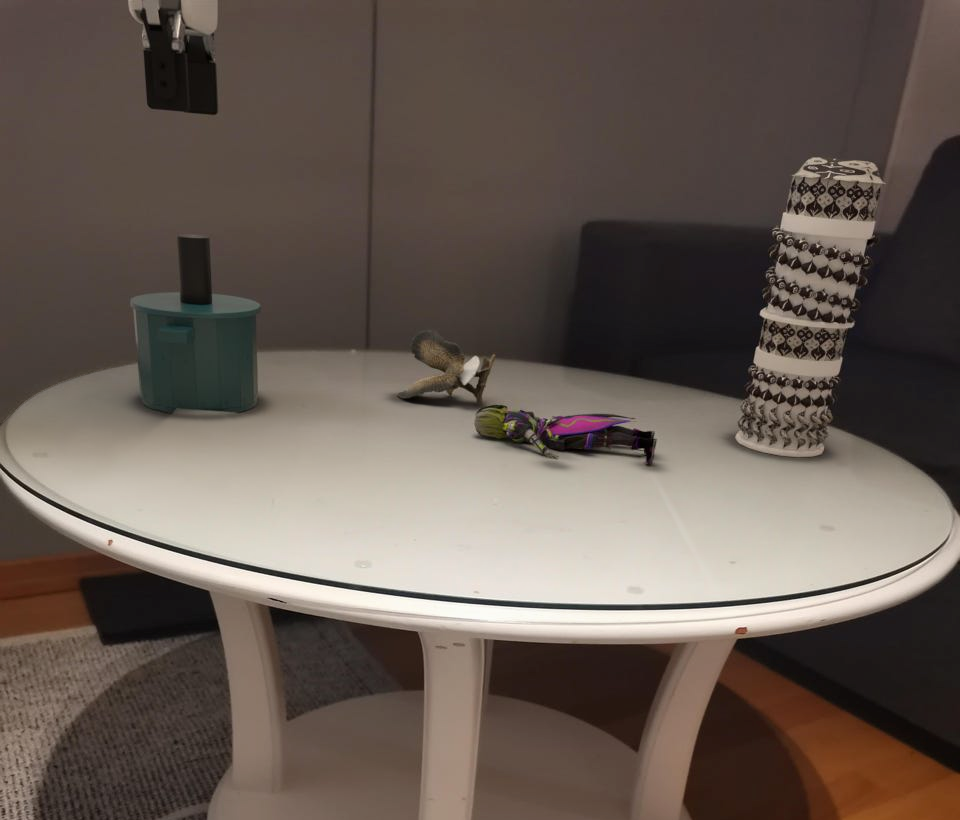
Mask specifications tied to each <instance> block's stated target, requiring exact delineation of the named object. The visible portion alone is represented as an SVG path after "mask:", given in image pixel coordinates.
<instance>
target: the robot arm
mask: <svg viewBox="0 0 960 820" xmlns="http://www.w3.org/2000/svg"><path fill="white" fill-rule="evenodd" d="M218 1H219V0H127V3H128V11H129V13H130V14H131V16H132V18H133V19H134V20H135V21H136V22H138V23H139V24H141V25H143V27H142V28H143V29H142V33H141V43H142V47H143V50H142V51H143V52H142V53H143V64H144V78H145V93H146V105H147V107H148V108H149V109H151V110H157V111H159V110H160V111H172V112H180V113H186V114H187V113H188V114H196V115H197V114H198V115H209V116H216V115H217V114H218V113H219V101H218V73H217V72H218V71H217V63H216V59H217V54H216V48H215V43H214V41H215V31H216V30H217V29H218V21H219V20H218V18H219V16H218V15H219V13H218V12H219V10H218V9H219V7H218V5H219V4H218V3H219V2H218ZM188 36H189V37H188Z"/></svg>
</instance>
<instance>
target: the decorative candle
mask: <svg viewBox="0 0 960 820" xmlns="http://www.w3.org/2000/svg"><path fill="white" fill-rule="evenodd" d="M789 176H791V177H792V178H791V182H790V188H789V192H788V198H787V201H786V202H787V205H786V208H785V212H783V213H782V216H781V222H780V224H779V225H776V226H774V228H773V229H771V231H770V236H771V237H772V238H773V239H774V240H775V241H776V242H775V243H774V244H772V246H771V247H769V248H768V250H767V253H768V255H769V257H770V258H771V259H772V260H773V262H776V263H774V265H773V266H771V267H769V268H768V270H767V271H765V272H764V279H766V281H767V283H768V285H767V286H765V288H763V289H762V291H761V295H762V298H763V300H764V301H766V302H767V306H766V307H764V308H762V309H761V310H760V312H759V316H760V317H762V318H763V324H762V327H761V331H760V337H759V342H758V346H756V347H755V352H754V357H753V362H752V363H753V365H750V366H749V367H748V369H747V373H748V374H749V376H750V377H751V378H752V379H751V380H750V381H748V382H747V383H746V384H745V385H744V389H745V390H746V393H748V394H749V395H748V397H747V398H745V399H744V400H743V401H742V402H741V404H740V411H741V413H742V415H741V416H740V417H739V418H738V420H737V426H738V428H739V429H740V430H739V431H738V432H737V433H736V434H735V437H734V438H735V440H736V442H737V443H738V444H740V445H742V446H743V447H745V448H748V449H750V450H754V451H756V452H757V451H758V452H760V453H765V454H769V455H775V456H781V457H792V458H793V457H794V458H809V457H813V458H814V457H816V456H820V455H822V454H823V452H824V450H825V445H824V444H823V443H824V442H825V441H826V439H827V438H828V437H829V435H830V434H829V432H828V428H827V427H828V426H829V425H830V423H831V422H832V421H833V419H834V417H833V415H832V412H831V410H830V408H829V406H831V405H834V403H835V402H837V400H838V397H837V396H836V394H835V392H834V391H833V390H835V389H836V388H837V387H839V386H840V385H841V383H842V379H841V378H840V377H839V376H838V375H839V374H840V371H841V368H842V363H843V359H844V358H843V356H842V353H843V350H844V345H845V343H846V337H847V332H848V329H852V328H853V327H854V326H855V323H856V320H855V319H854V318H853V317H852V316H851V313H853V312H856V311H858V310H860V308H861V307H862V304H861V302H860V301H859V300H858V299H857V296H855V294H856V290H857V289H858V290H860V289H862V288H864V287H866V286H868V284H869V280H868V278H866V277H865V276H864V274H863V273H864V272H865V271H867V270H869V269H871V268H872V267H873V265H874V262H873V259H872V258H870V257H869V254H866V255H865V252H866V248H867V249H868V248H869V247H870V248H872V247H873V246H875V245H877V244H879V243H881V236H880V235H876V234H874V235H873V233H874V230H875V226H876V220H875V215H876V211H877V209H878V204H879V200H880V195H881V191H882V187H883V185H887V183H885V182H884V181H882V179H881V175H880V172H879V169H878V167H877V165H876V163H874V162H872V161H866V160H855V159H844V158H832V157H830V158H829V157H818V156H817V157H811V158H809V159H807V160H806V161H805V162H804V163H803V164H802V166H801V167H800V168H799V170H798V171H797V172H795V174H791V175H789ZM860 272H861V273H860Z"/></svg>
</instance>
